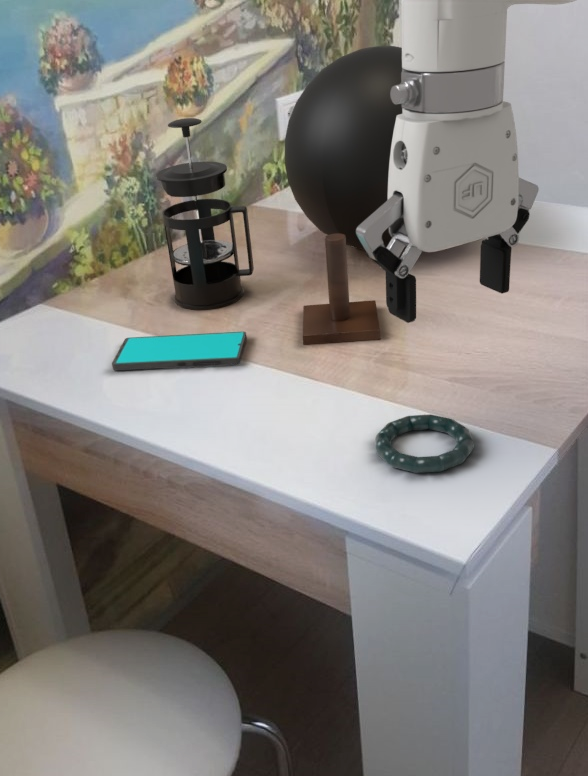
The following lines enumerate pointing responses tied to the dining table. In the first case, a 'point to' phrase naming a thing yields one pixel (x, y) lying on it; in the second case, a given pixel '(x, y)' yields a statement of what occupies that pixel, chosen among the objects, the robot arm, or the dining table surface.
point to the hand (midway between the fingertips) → (449, 302)
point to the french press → (202, 233)
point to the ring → (429, 462)
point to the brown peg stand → (339, 305)
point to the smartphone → (180, 351)
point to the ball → (344, 141)
